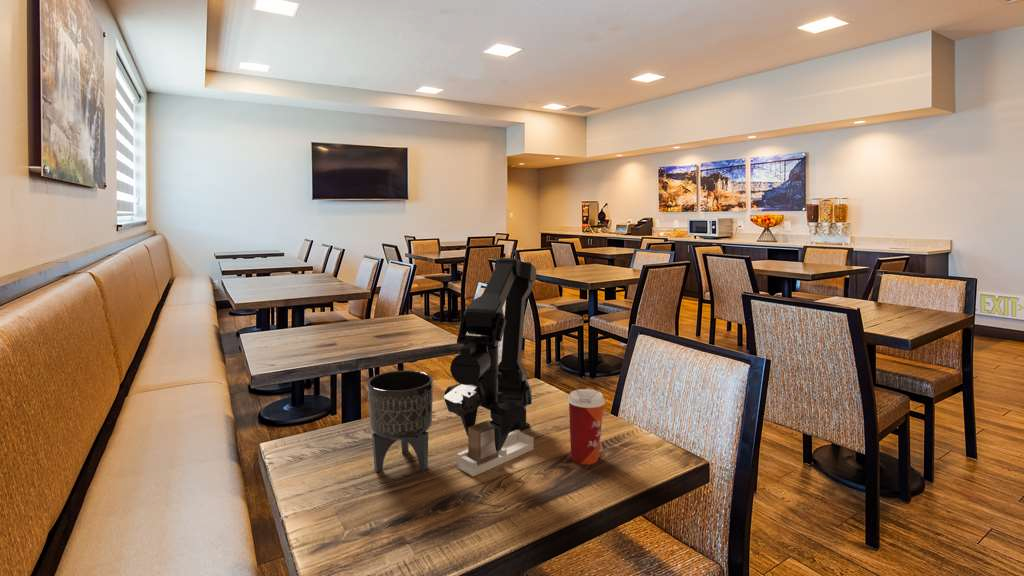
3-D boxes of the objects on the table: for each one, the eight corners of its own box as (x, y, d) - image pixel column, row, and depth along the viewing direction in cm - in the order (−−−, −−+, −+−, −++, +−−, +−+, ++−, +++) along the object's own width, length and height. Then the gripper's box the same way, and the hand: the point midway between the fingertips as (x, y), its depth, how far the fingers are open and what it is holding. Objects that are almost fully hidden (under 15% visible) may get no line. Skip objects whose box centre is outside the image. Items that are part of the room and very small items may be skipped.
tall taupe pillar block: (478, 465, 106) (478, 432, 105) (468, 460, 109) (468, 427, 108) (498, 456, 110) (498, 424, 109) (488, 451, 112) (488, 419, 111)
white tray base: (457, 467, 109) (456, 453, 108) (517, 442, 120) (517, 429, 120) (473, 476, 105) (473, 462, 105) (533, 449, 117) (533, 436, 116)
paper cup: (602, 469, 108) (604, 402, 106) (564, 465, 110) (565, 399, 108) (603, 451, 116) (606, 389, 114) (568, 448, 118) (569, 386, 115)
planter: (446, 456, 113) (445, 375, 111) (410, 485, 102) (407, 395, 99) (396, 444, 119) (393, 366, 116) (356, 470, 107) (352, 385, 104)
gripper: (422, 366, 108) (423, 440, 110) (484, 390, 94) (484, 473, 97) (465, 355, 115) (466, 425, 118) (528, 376, 102) (527, 453, 104)
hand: (483, 443), depth 109 cm, fingers open, 8 cm apart
